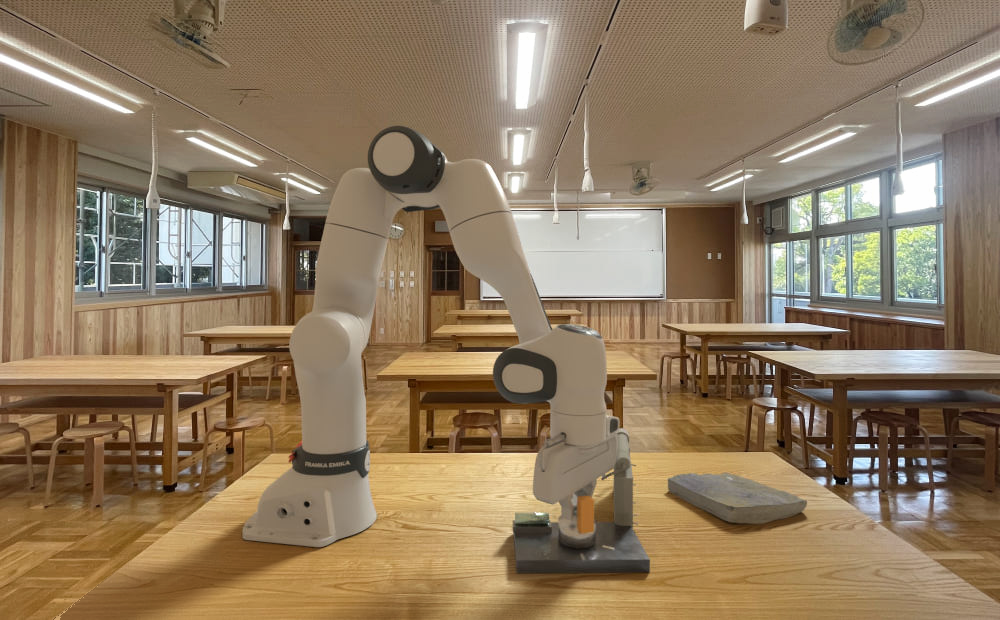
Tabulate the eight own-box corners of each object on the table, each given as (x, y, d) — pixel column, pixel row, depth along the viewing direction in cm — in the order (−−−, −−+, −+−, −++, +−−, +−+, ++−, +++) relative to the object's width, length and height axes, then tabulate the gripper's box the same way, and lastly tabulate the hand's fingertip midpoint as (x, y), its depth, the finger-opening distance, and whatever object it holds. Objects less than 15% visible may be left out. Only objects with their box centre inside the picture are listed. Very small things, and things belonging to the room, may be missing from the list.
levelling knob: (550, 528, 86) (551, 481, 86) (584, 524, 88) (584, 478, 87) (568, 554, 78) (569, 502, 78) (605, 549, 80) (605, 498, 79)
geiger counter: (639, 460, 86) (632, 420, 111) (601, 458, 88) (602, 419, 112) (639, 541, 87) (632, 483, 112) (601, 537, 89) (602, 481, 113)
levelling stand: (515, 573, 77) (515, 541, 77) (512, 533, 89) (512, 505, 89) (649, 572, 77) (650, 540, 77) (628, 533, 89) (629, 504, 89)
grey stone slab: (723, 482, 115) (661, 489, 109) (725, 462, 115) (663, 468, 108) (806, 524, 97) (737, 535, 90) (809, 500, 96) (740, 510, 90)
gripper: (558, 446, 72) (558, 543, 73) (624, 417, 88) (623, 496, 88) (522, 438, 76) (522, 529, 77) (591, 411, 92) (591, 487, 92)
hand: (577, 511), depth 83 cm, fingers open, 4 cm apart
